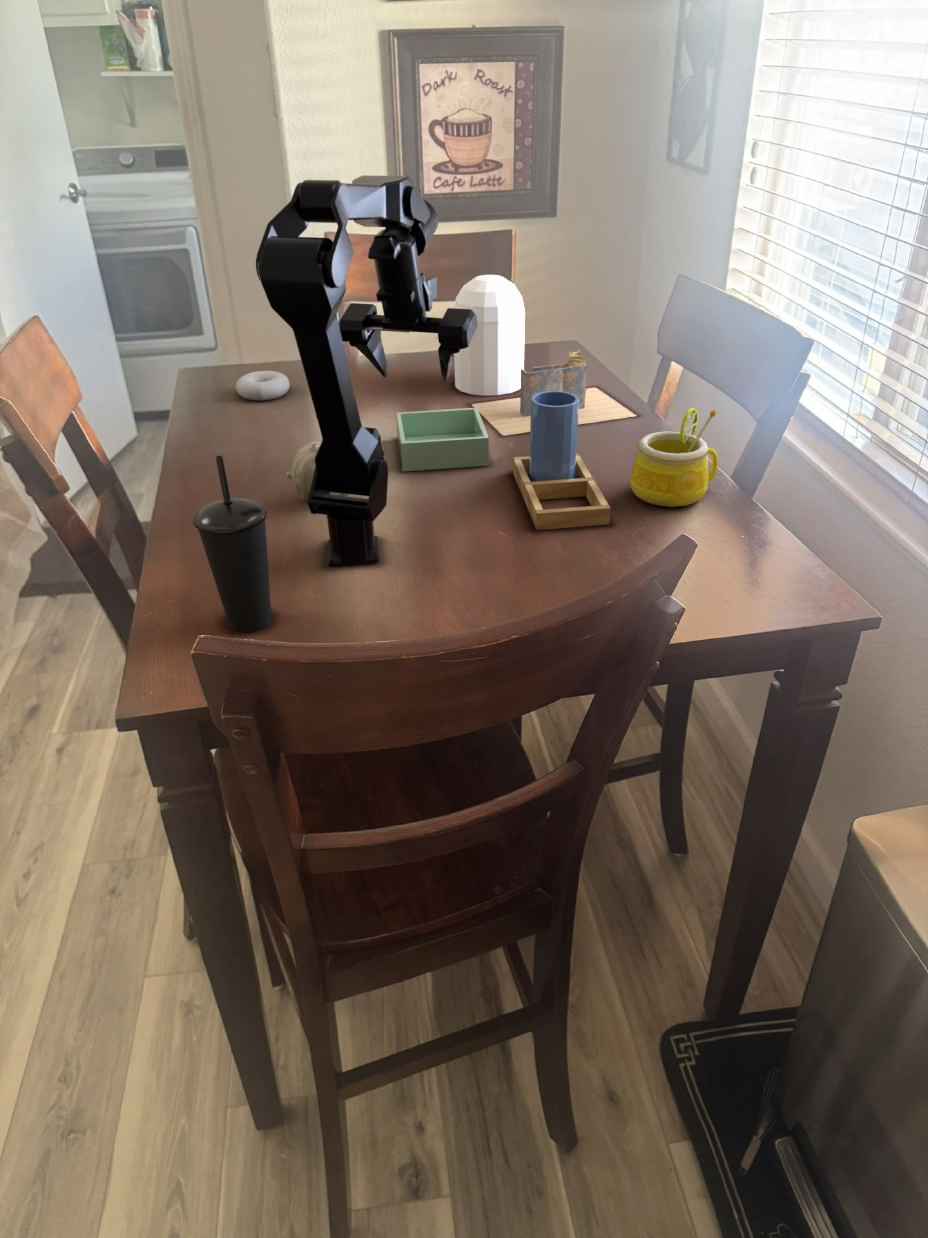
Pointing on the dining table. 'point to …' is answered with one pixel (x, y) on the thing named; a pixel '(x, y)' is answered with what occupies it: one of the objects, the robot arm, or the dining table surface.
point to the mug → (673, 466)
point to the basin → (442, 439)
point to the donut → (262, 385)
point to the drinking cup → (237, 556)
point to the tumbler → (553, 436)
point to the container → (491, 337)
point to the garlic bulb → (305, 469)
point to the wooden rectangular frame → (562, 489)
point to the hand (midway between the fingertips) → (415, 377)
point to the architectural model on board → (560, 377)
